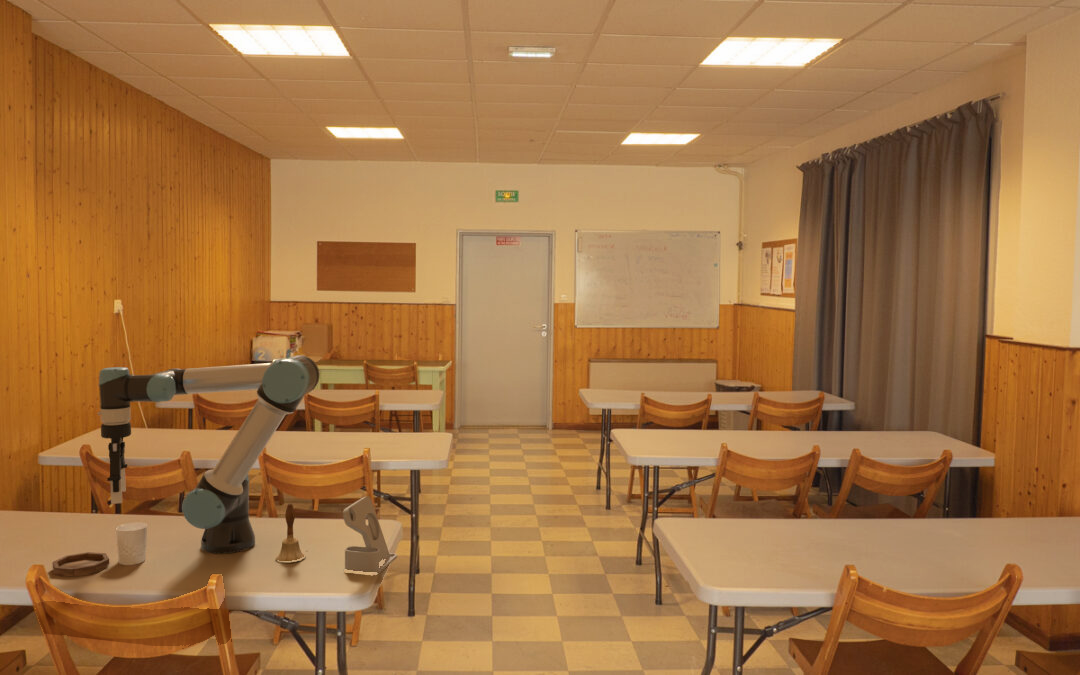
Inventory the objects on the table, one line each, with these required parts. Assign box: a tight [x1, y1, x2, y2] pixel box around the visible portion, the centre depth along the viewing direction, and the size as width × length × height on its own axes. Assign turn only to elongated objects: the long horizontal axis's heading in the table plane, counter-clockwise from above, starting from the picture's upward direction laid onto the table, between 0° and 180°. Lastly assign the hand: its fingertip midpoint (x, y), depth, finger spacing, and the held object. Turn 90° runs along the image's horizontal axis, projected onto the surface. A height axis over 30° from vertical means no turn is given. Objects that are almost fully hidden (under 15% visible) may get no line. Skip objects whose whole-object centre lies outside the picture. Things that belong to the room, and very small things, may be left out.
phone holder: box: [342, 496, 398, 574], centre depth 231 cm, size 17×10×18 cm, turn 169°
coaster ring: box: [52, 551, 110, 577], centre depth 224 cm, size 13×13×2 cm
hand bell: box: [275, 503, 305, 561], centre depth 235 cm, size 8×8×16 cm
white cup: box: [115, 522, 148, 566], centre depth 230 cm, size 8×8×10 cm
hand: (118, 497), depth 230 cm, fingers open, 13 cm apart
